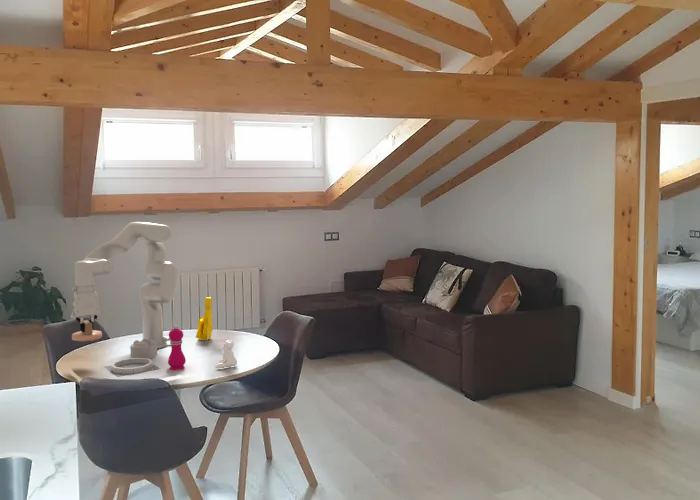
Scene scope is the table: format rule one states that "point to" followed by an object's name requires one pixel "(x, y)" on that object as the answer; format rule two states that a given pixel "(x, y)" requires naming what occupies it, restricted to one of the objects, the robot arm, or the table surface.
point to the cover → (87, 333)
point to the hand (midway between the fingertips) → (86, 330)
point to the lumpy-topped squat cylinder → (144, 349)
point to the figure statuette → (205, 322)
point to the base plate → (131, 366)
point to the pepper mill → (176, 350)
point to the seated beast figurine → (227, 356)
